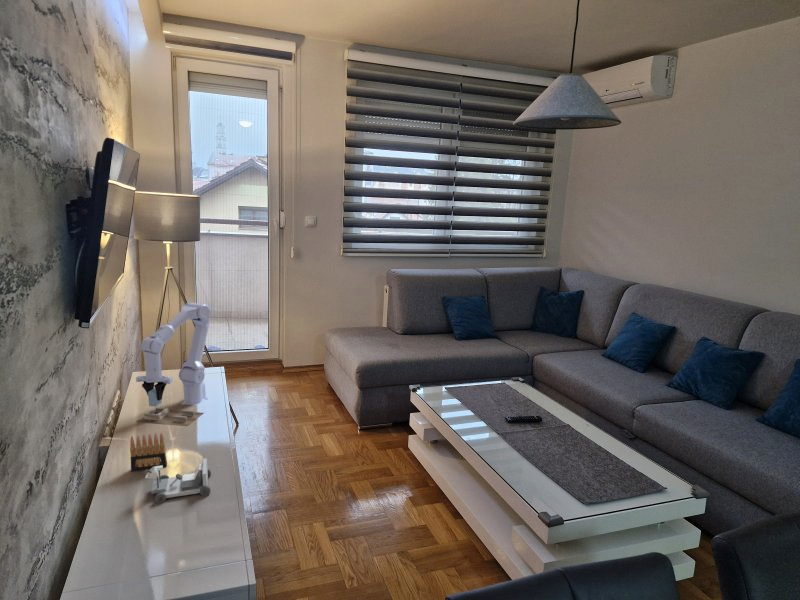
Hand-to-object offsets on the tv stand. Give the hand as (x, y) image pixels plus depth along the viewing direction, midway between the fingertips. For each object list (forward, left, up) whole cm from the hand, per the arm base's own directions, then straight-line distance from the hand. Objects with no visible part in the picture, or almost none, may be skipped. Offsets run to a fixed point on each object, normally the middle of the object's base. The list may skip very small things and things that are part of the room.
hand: (155, 399), depth 208 cm
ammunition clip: (+37, +21, -8) cm, 44 cm away
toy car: (+48, +38, -9) cm, 61 cm away
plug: (0, 0, -2) cm, 2 cm away
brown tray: (0, +6, -8) cm, 10 cm away
